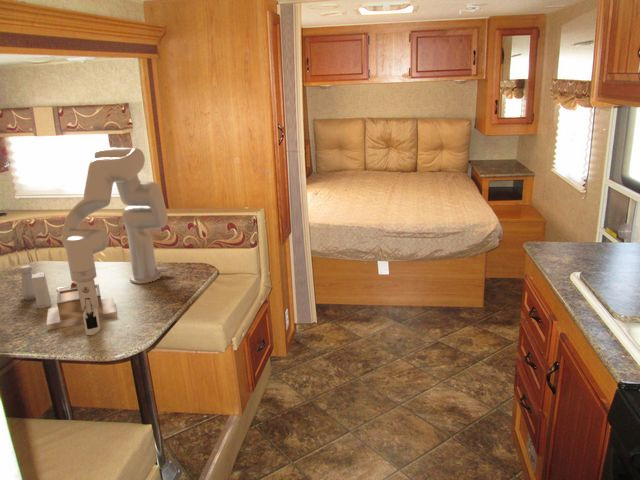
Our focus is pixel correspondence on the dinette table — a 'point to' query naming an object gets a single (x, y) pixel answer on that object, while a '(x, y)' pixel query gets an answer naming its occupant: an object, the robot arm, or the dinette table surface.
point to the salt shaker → (27, 283)
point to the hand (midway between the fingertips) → (92, 323)
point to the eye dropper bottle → (93, 330)
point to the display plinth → (79, 320)
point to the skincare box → (41, 290)
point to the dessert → (68, 286)
